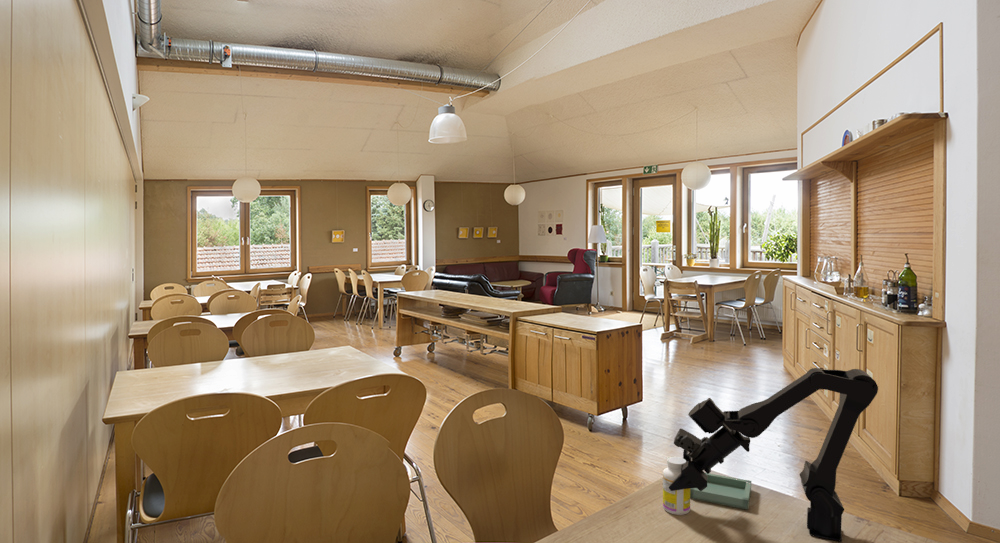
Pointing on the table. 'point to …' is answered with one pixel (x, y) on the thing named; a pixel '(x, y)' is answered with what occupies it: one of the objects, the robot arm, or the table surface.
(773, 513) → the table surface
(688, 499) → the supplement bottle
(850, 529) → the table surface
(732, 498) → the tub
